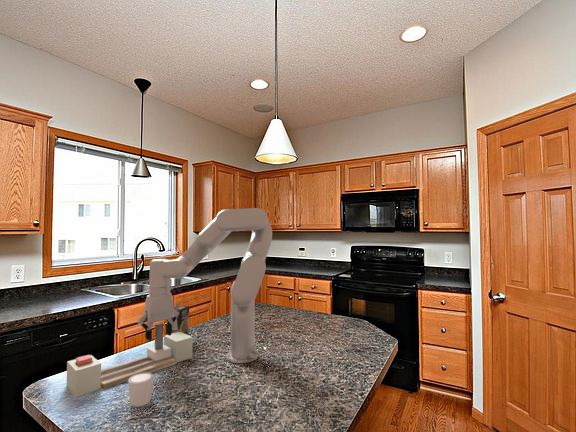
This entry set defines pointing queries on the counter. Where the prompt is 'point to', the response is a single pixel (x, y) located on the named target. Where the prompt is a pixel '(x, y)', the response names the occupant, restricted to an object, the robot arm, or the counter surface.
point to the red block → (83, 360)
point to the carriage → (158, 345)
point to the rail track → (132, 370)
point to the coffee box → (181, 320)
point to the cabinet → (179, 345)
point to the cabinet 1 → (83, 377)
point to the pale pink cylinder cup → (140, 389)
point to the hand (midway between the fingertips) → (158, 337)
